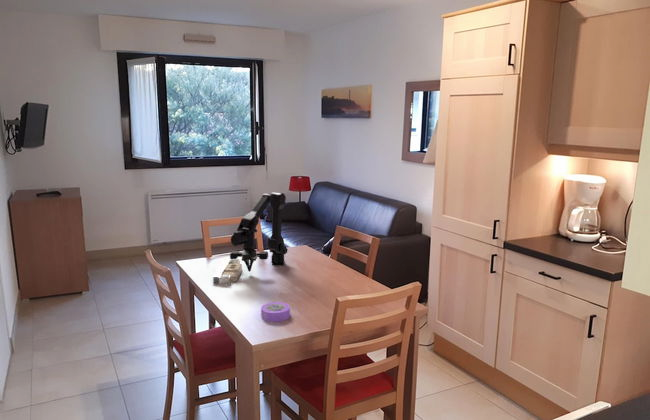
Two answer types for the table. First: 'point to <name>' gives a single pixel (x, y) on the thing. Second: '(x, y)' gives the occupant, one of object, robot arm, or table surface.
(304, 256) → the table surface
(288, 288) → the table surface
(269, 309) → the masking tape
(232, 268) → the electrical outlet
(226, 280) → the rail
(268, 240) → the robot arm
